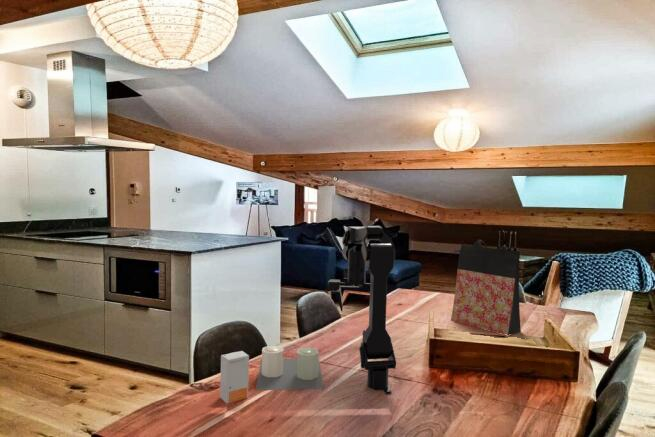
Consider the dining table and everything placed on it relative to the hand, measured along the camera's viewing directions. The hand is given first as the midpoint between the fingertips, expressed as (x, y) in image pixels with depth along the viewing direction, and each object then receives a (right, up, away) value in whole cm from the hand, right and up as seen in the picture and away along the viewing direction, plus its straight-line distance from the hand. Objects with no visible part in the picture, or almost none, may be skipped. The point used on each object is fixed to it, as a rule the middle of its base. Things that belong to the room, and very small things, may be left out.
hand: (355, 311), depth 149 cm
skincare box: (-33, -16, -34) cm, 50 cm away
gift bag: (+55, -13, +38) cm, 68 cm away
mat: (-20, -15, -18) cm, 31 cm away
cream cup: (-25, -14, -19) cm, 34 cm away
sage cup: (-15, -14, -20) cm, 29 cm away
